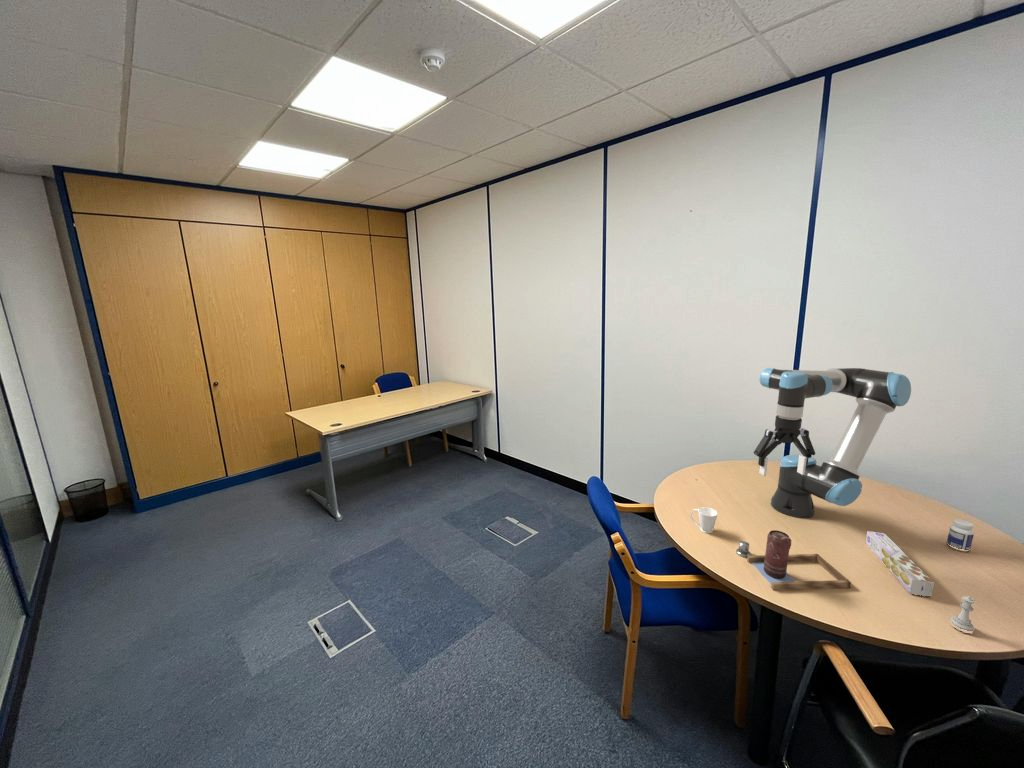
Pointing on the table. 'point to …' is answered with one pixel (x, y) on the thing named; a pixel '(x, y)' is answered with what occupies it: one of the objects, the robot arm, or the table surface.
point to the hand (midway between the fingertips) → (781, 473)
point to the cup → (705, 519)
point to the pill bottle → (961, 534)
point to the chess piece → (964, 615)
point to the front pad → (770, 579)
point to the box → (900, 564)
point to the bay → (838, 583)
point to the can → (777, 554)
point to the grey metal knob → (743, 549)
